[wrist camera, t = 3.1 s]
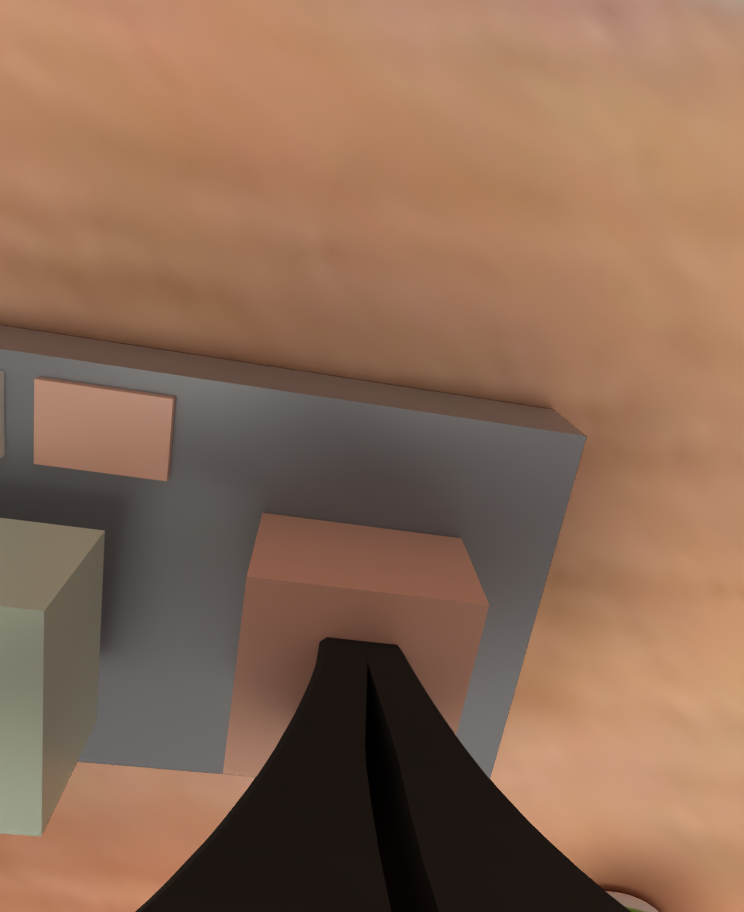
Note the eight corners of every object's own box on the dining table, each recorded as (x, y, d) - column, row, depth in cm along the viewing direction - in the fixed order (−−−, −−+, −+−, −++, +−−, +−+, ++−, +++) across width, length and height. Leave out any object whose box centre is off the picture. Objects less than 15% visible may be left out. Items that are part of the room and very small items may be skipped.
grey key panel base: (-415, 650, 15) (-533, 717, 13) (-514, 246, 12) (-684, 249, 10) (468, 735, 17) (486, 803, 15) (553, 409, 15) (590, 439, 13)
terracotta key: (241, 682, 14) (222, 773, 12) (262, 512, 13) (246, 576, 10) (423, 701, 15) (441, 792, 12) (461, 538, 13) (489, 605, 11)
